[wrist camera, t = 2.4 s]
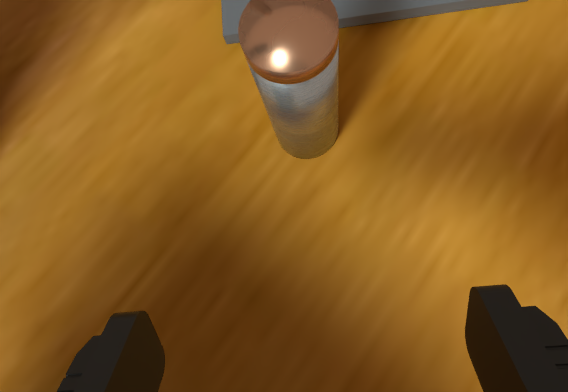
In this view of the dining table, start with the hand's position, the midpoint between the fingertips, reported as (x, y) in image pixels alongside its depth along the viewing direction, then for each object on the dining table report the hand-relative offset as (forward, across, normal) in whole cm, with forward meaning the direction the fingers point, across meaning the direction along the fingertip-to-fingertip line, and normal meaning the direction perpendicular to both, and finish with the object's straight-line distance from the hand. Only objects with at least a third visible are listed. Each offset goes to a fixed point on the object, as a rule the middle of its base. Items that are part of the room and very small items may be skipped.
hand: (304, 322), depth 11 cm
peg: (+18, 0, +3) cm, 18 cm away
